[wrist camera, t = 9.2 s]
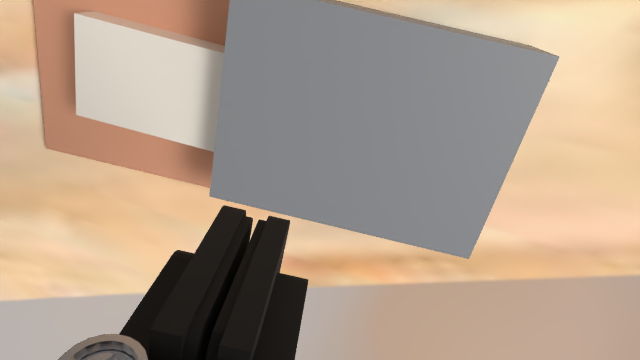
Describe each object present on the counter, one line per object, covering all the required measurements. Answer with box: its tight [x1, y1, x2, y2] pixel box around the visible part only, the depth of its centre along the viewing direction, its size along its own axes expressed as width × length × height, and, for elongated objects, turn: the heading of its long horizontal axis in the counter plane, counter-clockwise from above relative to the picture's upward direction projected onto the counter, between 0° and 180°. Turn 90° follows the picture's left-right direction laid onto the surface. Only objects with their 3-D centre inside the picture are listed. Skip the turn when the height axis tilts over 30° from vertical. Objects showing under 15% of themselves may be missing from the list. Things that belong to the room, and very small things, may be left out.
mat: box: [33, 0, 230, 188], centre depth 26 cm, size 13×15×1 cm
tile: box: [74, 11, 225, 152], centre depth 25 cm, size 9×6×2 cm, turn 77°
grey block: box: [210, 0, 559, 259], centre depth 24 cm, size 16×12×4 cm
